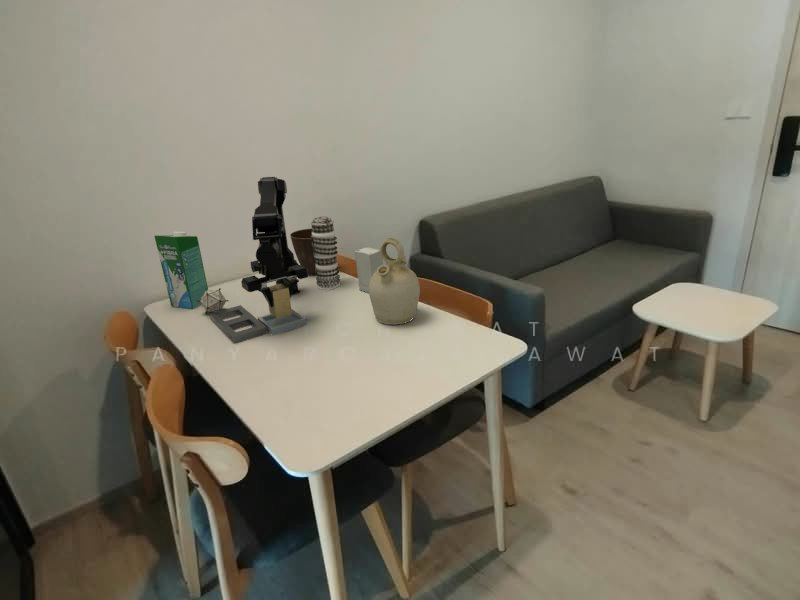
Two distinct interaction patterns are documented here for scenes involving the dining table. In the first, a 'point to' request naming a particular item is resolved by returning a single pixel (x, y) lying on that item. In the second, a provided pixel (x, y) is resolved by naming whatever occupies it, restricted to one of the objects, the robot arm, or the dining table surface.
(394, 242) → the jug
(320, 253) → the patterned tower model
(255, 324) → the grey flat frame
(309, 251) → the plant pot
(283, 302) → the tan rectangular block
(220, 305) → the game die
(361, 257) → the skincare box
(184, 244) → the milk carton
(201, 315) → the dining table surface
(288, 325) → the tray
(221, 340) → the dining table surface
